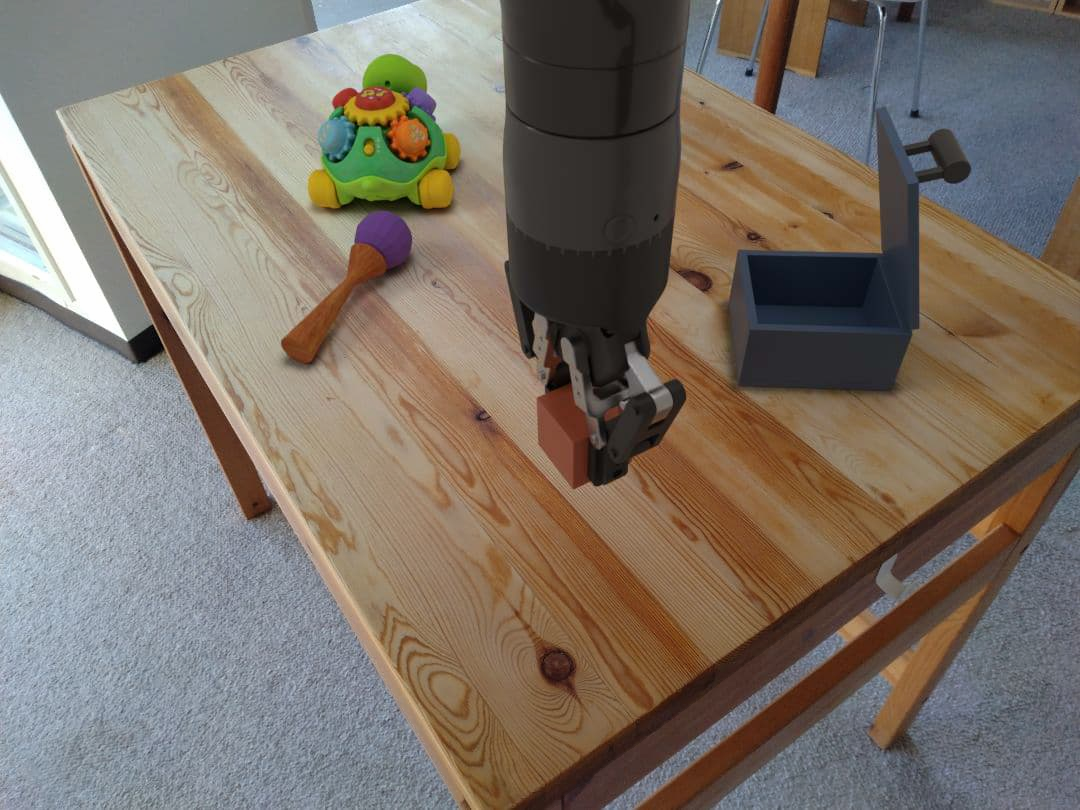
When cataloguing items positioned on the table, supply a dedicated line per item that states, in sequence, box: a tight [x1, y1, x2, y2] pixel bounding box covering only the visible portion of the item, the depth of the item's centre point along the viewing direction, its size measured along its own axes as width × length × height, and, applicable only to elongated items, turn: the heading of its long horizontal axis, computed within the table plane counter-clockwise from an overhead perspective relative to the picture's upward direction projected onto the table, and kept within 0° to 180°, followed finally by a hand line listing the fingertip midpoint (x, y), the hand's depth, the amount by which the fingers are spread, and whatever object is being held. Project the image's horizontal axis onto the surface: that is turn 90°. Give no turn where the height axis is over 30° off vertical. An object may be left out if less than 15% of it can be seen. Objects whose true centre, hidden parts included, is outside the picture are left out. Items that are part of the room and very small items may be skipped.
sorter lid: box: [875, 106, 972, 331], centre depth 70 cm, size 14×12×5 cm
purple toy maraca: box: [280, 210, 413, 364], centre depth 86 cm, size 6×6×20 cm
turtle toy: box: [307, 53, 462, 210], centre depth 100 cm, size 17×23×12 cm
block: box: [536, 383, 633, 490], centre depth 48 cm, size 4×4×4 cm
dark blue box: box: [727, 249, 914, 392], centre depth 78 cm, size 14×12×7 cm
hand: (584, 449), depth 49 cm, fingers closed on block, 4 cm apart
